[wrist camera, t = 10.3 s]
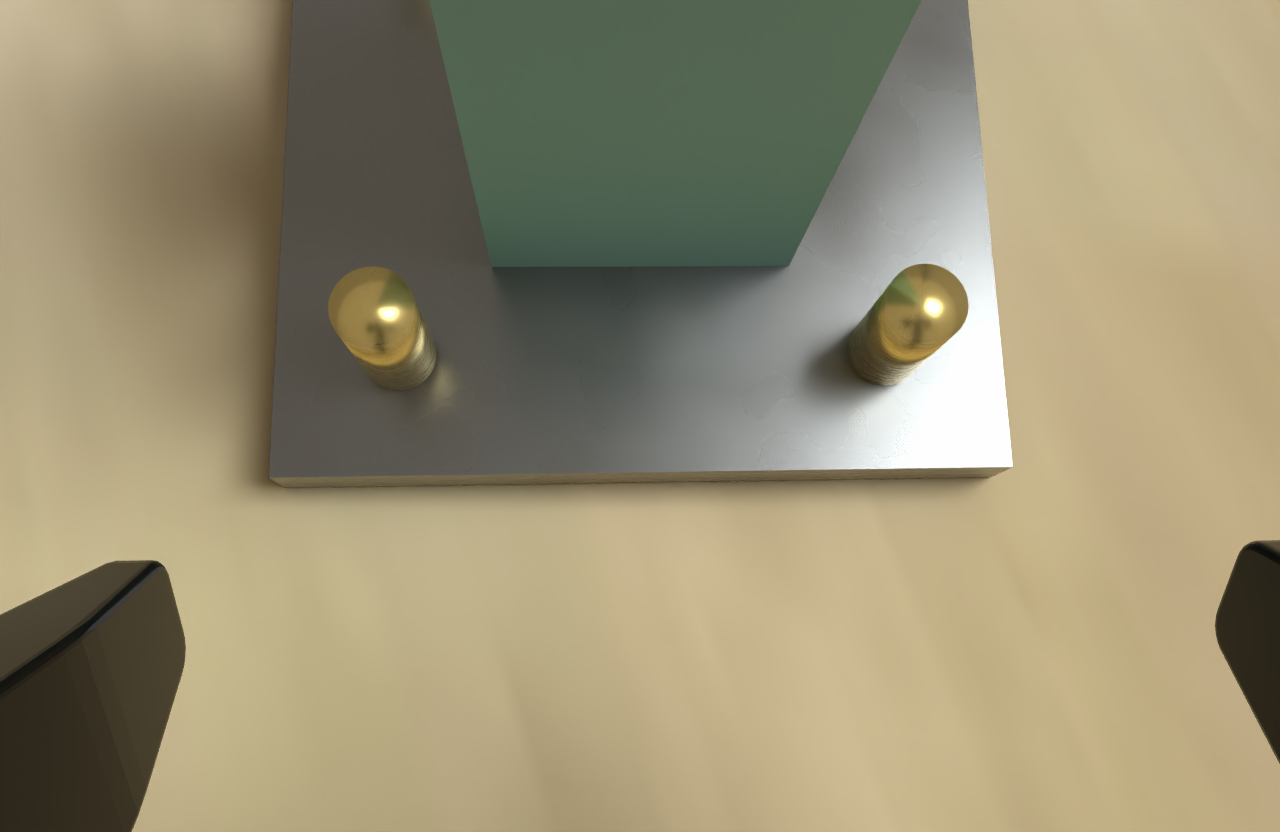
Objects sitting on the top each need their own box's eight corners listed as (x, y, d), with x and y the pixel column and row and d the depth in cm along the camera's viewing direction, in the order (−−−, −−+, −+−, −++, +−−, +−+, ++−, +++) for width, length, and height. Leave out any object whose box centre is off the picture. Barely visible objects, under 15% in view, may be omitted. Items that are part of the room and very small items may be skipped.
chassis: (991, 477, 19) (1077, 435, 16) (284, 487, 19) (219, 446, 15) (935, -129, 22) (999, -275, 19) (314, -136, 22) (263, -288, 18)
